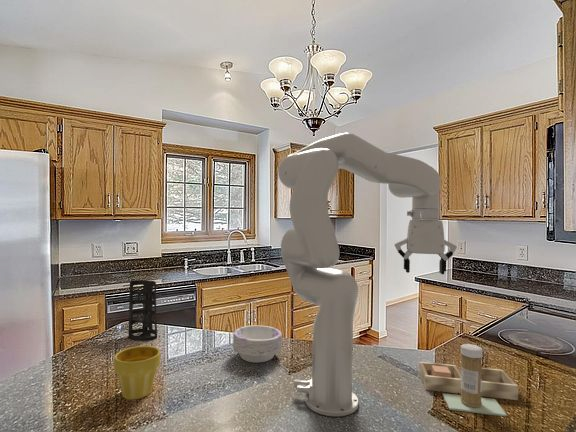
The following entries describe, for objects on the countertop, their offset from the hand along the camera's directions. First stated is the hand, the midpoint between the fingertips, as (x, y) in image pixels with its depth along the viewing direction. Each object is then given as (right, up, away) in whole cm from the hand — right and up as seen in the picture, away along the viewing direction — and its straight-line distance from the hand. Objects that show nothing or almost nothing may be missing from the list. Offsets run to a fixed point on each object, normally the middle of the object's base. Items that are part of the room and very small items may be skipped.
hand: (424, 272), depth 103 cm
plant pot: (-78, -27, -18) cm, 84 cm away
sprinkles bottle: (+3, -28, -20) cm, 35 cm away
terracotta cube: (+1, -28, -10) cm, 30 cm away
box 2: (+12, -28, -12) cm, 33 cm away
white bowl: (-50, -28, +6) cm, 58 cm away
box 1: (+1, -28, -10) cm, 30 cm away
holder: (-93, -27, +22) cm, 99 cm away
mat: (+3, -28, -21) cm, 35 cm away
